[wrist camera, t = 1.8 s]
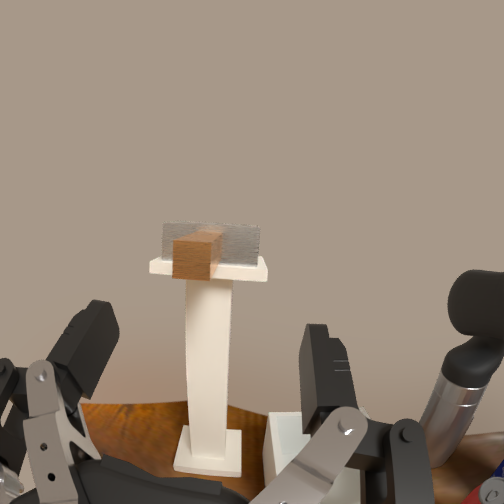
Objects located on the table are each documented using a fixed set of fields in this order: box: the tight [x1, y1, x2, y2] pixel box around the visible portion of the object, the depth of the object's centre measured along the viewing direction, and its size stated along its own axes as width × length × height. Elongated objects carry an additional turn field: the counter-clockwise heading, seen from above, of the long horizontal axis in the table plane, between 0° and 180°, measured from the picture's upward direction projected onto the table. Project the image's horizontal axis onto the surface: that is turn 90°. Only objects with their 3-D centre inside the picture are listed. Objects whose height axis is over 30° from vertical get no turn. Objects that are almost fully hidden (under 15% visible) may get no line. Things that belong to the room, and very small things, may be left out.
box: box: [262, 407, 371, 504], centre depth 27 cm, size 15×19×10 cm
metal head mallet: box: [162, 221, 260, 281], centre depth 27 cm, size 10×16×4 cm, turn 2°
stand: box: [150, 255, 268, 477], centre depth 34 cm, size 12×10×32 cm
